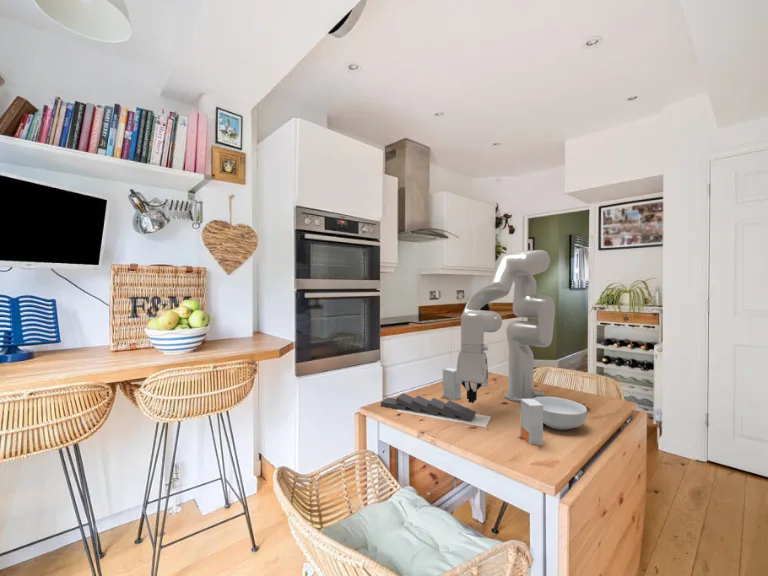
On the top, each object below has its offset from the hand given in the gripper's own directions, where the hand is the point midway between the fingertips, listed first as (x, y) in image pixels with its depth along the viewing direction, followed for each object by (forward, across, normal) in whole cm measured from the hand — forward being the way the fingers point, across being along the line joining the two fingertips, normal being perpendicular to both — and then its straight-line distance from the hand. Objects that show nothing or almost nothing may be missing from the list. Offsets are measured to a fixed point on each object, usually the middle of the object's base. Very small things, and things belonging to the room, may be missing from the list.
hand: (471, 401), depth 124 cm
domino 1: (+5, +23, 0) cm, 24 cm away
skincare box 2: (+7, -20, +8) cm, 22 cm away
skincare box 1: (+7, +13, -19) cm, 24 cm away
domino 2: (+5, +18, 0) cm, 18 cm away
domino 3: (+5, +11, 0) cm, 12 cm away
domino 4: (+5, +5, 0) cm, 7 cm away
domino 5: (+5, -1, 0) cm, 5 cm away
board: (+6, +10, 0) cm, 12 cm away
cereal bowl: (+7, -26, -9) cm, 29 cm away
